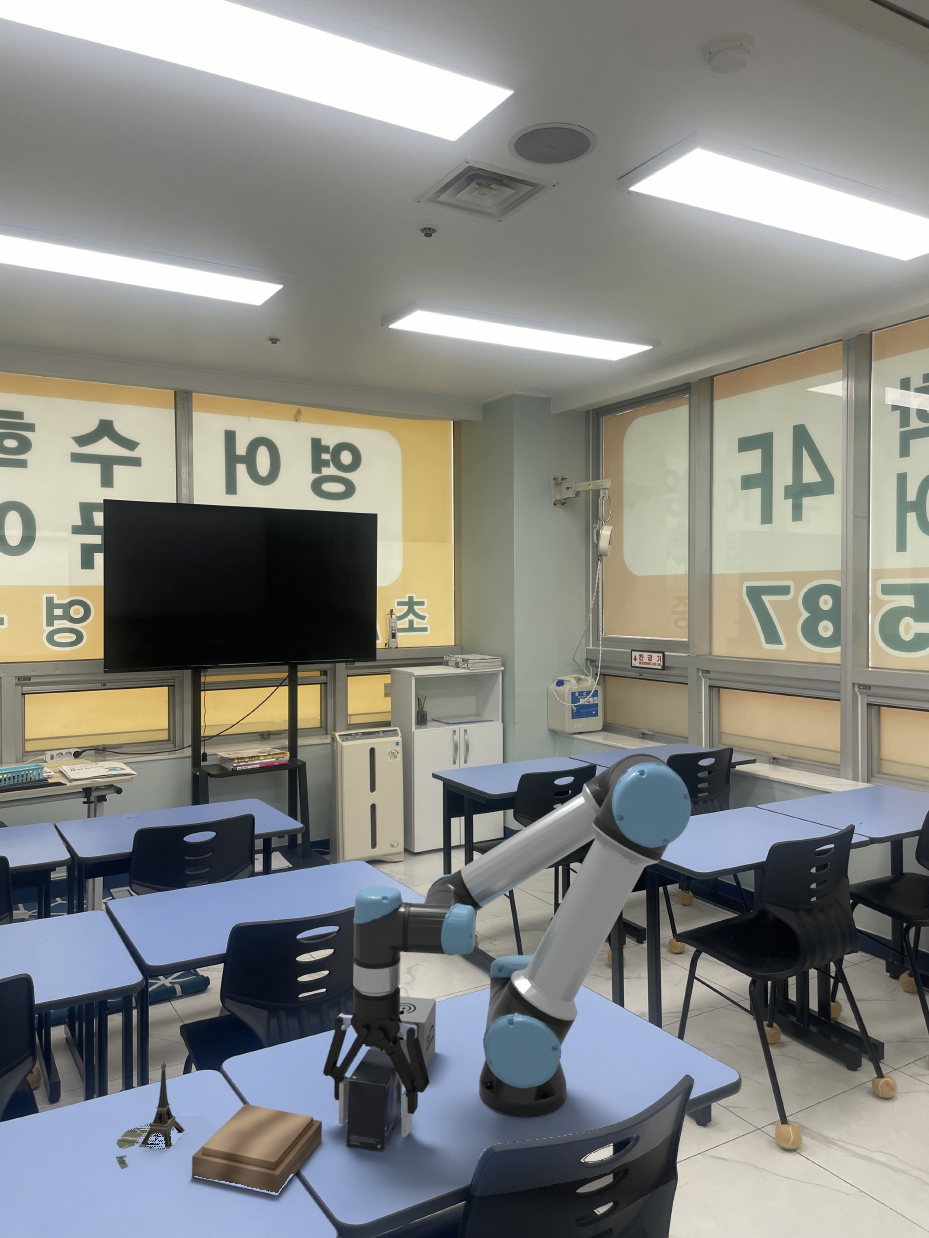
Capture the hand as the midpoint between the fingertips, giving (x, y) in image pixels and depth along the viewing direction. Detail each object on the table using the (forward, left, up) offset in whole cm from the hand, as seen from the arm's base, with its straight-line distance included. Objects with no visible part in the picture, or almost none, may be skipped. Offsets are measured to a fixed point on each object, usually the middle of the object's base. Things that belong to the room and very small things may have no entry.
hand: (375, 1125), depth 139 cm
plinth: (+14, +12, -1) cm, 18 cm away
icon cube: (+4, -22, -1) cm, 22 cm away
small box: (0, 0, -1) cm, 1 cm away
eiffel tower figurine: (+31, +12, -2) cm, 33 cm away
